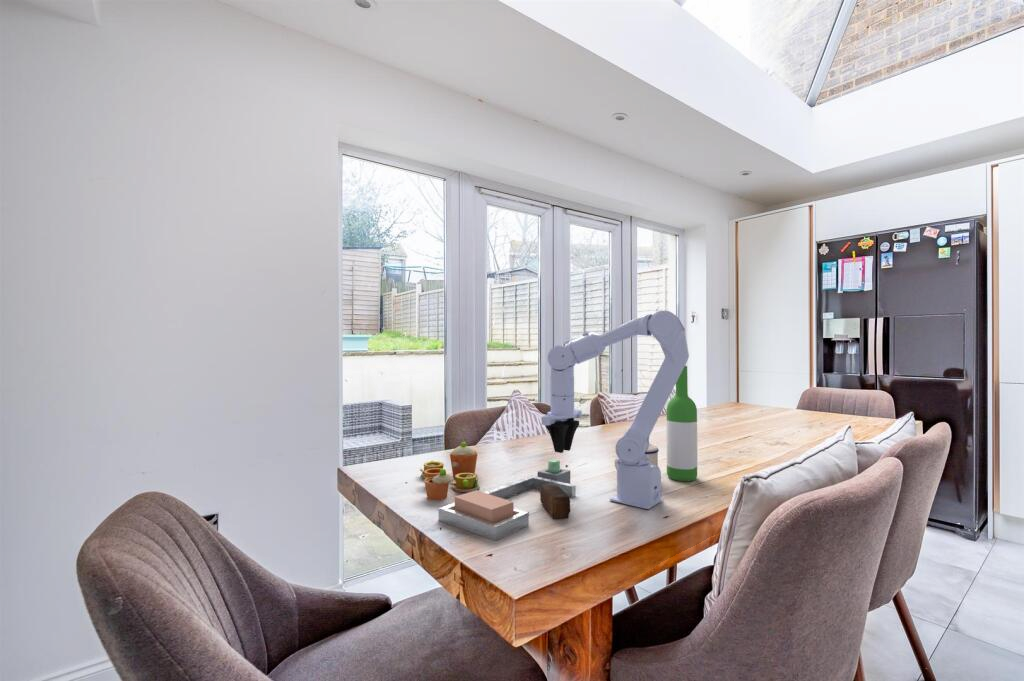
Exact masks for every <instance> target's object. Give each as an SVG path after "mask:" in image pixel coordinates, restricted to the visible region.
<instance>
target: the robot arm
mask: <svg viewBox="0 0 1024 681" xmlns="http://www.w3.org/2000/svg"><path fill="white" fill-rule="evenodd" d="M635 336H645V337H646V336H649V337H651V336H653V338H655V340H656V342H658V343H659V346H660V347H661V350H662V353H663V355H664V358H663V361H662V363H661V365H660V366H659V369H658V370H657V373H656V374H655V377H654V379H653V381H652V383H651V385H650V386H649V389H648V391H647V393H646V395H645V397H644V399H643V401H642V403H641V405H640V406H639V409H638V411H637V413H636V415H635V417H634V419H633V421H632V422H631V424H630V426H629V428H628V429H627V431H626V432H625V433H624V434H623V436H621V437H620V438H619V439H618V440H617V441H616V444H615V454H616V455H617V456H616V458H617V457H618V458H617V470H616V495H613V496H611V497H610V498H609V501H610V502H615V503H618V504H624V505H628V506H632V507H637V508H641V509H643V510H644V509H645V510H649V509H651V508H653V507H654V506H656V505H657V504H659V503H661V502H662V501H663V498H662V473H661V472H662V471H661V469H660V467H659V465H658V466H655V465H652V464H650V463H649V459H648V457H647V456H646V455H645V452H646V451H647V449H648V447H649V443H650V436H651V434H652V432H653V430H654V428H655V425H656V424H657V422H658V419H659V417H660V415H661V413H662V411H663V410H664V408H665V405H666V404H667V402H668V399H669V397H670V395H671V394H672V392H673V390H674V388H675V387H676V382H677V380H678V378H679V376H680V374H681V372H682V370H683V368H684V366H686V364H687V362H688V360H689V357H690V355H689V354H690V352H689V348H688V343H687V342H688V341H687V336H686V329H685V326H684V325H683V323H682V321H681V320H680V318H679V317H678V316H677V315H676V314H675V313H673V312H671V311H670V310H663V309H662V310H659V311H656V312H654V313H653V314H652V313H650V314H645V315H643V316H639V317H637V318H634V319H632V320H629V321H627V322H626V323H623V324H621V325H619V326H617V327H614V328H612V329H610V330H608V331H606V332H604V333H601V334H598V333H596V332H593V331H592V332H589V331H585V332H584V333H582V336H581V337H578V338H576V339H573V340H571V341H570V340H566V341H564V345H559V344H558V345H555V346H554V347H553V348H551V349H550V350H549V352H548V354H547V362H548V365H549V366H550V411H547V414H546V415H542V416H541V425H543V426H545V428H546V429H547V431H548V433H549V435H550V438H551V441H552V445H553V449H554V452H555V453H560V454H563V453H564V451H568V452H569V451H571V449H572V448H571V447H572V444H573V442H574V441H573V440H574V436H575V433H576V431H577V429H578V427H579V426H580V421H579V420H576V419H582V416H583V414H582V413H583V412H582V411H583V410H581V409H575V374H574V371H575V370H574V366H575V365H576V364H578V365H579V364H581V363H584V362H587V361H589V360H591V359H594V358H597V357H599V356H602V355H603V354H604V352H605V351H604V350H605V348H606V347H609V346H612V345H615V344H618V343H619V342H623V341H625V340H628V339H631V338H633V337H635Z"/></svg>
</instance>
